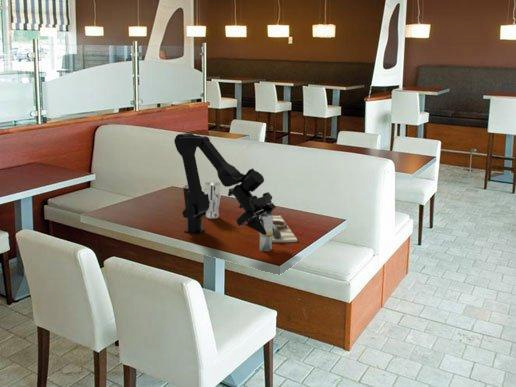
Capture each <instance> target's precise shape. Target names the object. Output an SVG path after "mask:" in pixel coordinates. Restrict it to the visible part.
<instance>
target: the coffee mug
mask: <svg viewBox="0 0 516 387" xmlns="http://www.w3.org/2000/svg"><path fill="white" fill-rule="evenodd" d="M182 187H183V188H182V189H183V198H184V199H183V200H184V206H185V207H184V208H185V209H186V208H187V207H188V203H187V200H188V196H189V188H188V184H184V185H183V186H182ZM201 189H202V190H203V185H201Z"/></svg>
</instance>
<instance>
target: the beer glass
mask: <svg viewBox="0 0 516 387" xmlns="http://www.w3.org/2000/svg"><path fill="white" fill-rule="evenodd" d="M221 187H222V186H221V182H218V181H207V182H205V184H204V194H208V196H209V202H210V204H209V209H208V210H207V212H206V215H204V216H205V218H206V219H209V220H210V219H211V220H216V219H219V218H220V212H219V208H220V207H219V206H220V202H221V193H222V192H221V191H222V190H221Z"/></svg>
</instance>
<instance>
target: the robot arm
mask: <svg viewBox="0 0 516 387" xmlns="http://www.w3.org/2000/svg"><path fill="white" fill-rule="evenodd" d="M173 141H174V146H175V149H176V151H177V152H178V153H179V155H180V156H181V157H182V158H181V159H182V164H183V168H184V172H185V173H184V174H185V176H186V177H185V178H186V182H187V185H188V188H189V196H188V200H187V203H188V207H187V208H185V209H184V210H183V211H182V212H181V213H182V216H183V218H185V219H187V224H186V225H187V228H185V229H184V231H183V232H184V233H190V234H199V235H200V233H202V232H203V231H204V230H205V227H203V224H202V222H203V219H202V217H203V216H205V215H206V212H207V210H208V209H209V204H210V202H209V196H208V194H205V191H203V188H202V189H201V186H202V185H201V179H200V174H199V170H198V165H197V160H196V159H197V158H196V152H197V148H199V149H200V151H201V153H203V155H204V157H206V159H207V160H208V161H209V163H210V164H211V165H212V166H213V167H214V169H215V170H216V172H217V177H218V179H219V181H220V184H221V185H223V187H231V188H229V189H228V193H227V196H228V197H232V196H234V198H235V199H236V201H237V202H238V203H239V206H238V208H239V209H240V210H241V209H243V211H244V212H243V213H242V214H241V215H240V216H238V217H237V218H236V224H237V226H238V227H240V228H241V227H242V226H245V227H248V228H250V229H253V230H254V231H256V232H258V234H259V233H261V234H263V235H266V234H267V233H266V231H265V229H264V228H263V226H262V224H261V223H260V222H261V215H262V214H271V215H272V212H273V211H274V210H275V209H276V208H277V207H276V205H275V204H274V203H273V202H272V200H273V196H272V194H270V192H269V191H267V192H264V193H262V196H260V197H258V196H257V195H253V194H252V193H253V192H255V191H256V190H257V189H258V188H259V187H261V185H262V184H264V182H265V178H264V176H263V175H262V174H261V173H260V172H259V171H257V170H255V169H254V168H251V169H250V168H249V170H248V171H247V172H246V173H245V174H244V173H241V171H240V170H238V169H237V168H236V167H235V166H233V164H230V163H229V162H228V161H227V160H226V159H225V158H224V157H223V156H222V154H221V153H220V152H219V150H218V149H217V148H216V146H214V144H213V143H212V141H211V140H210V138H209V137H208V136H207V135H203V136H202V135H199V134H198V135H196V134H194V133H192V132H185V133H184V132H183V133H178V134H177V135H176V136H175V138H174V140H173ZM233 186H234V187H233ZM259 217H260V219H259ZM245 223H246V224H245ZM273 231H274V228H273Z"/></svg>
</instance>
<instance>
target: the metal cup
mask: <svg viewBox="0 0 516 387" xmlns="http://www.w3.org/2000/svg"><path fill="white" fill-rule="evenodd" d="M273 216H274V215H273V214H272V213H271V214H262V215H261V224H262V226H263V228H264V229H265V231H266V233H267V234H266V235H263V234H261V233H260V234H259V251H261V252H271V251H272V248H273V242H272V235H273Z"/></svg>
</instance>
